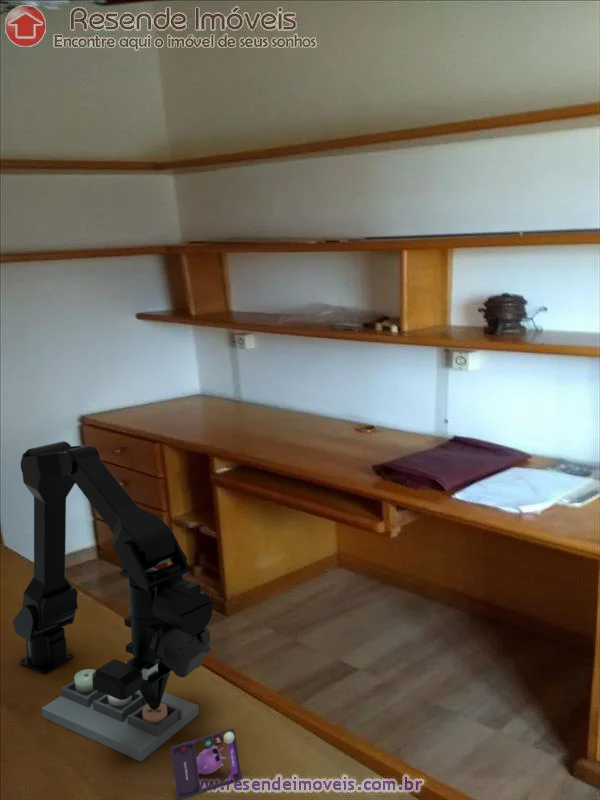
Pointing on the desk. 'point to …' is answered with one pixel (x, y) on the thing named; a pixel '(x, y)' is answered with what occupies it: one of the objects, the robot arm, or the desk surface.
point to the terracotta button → (154, 714)
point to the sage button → (84, 680)
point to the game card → (203, 763)
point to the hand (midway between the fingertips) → (154, 708)
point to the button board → (118, 720)
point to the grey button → (118, 701)
